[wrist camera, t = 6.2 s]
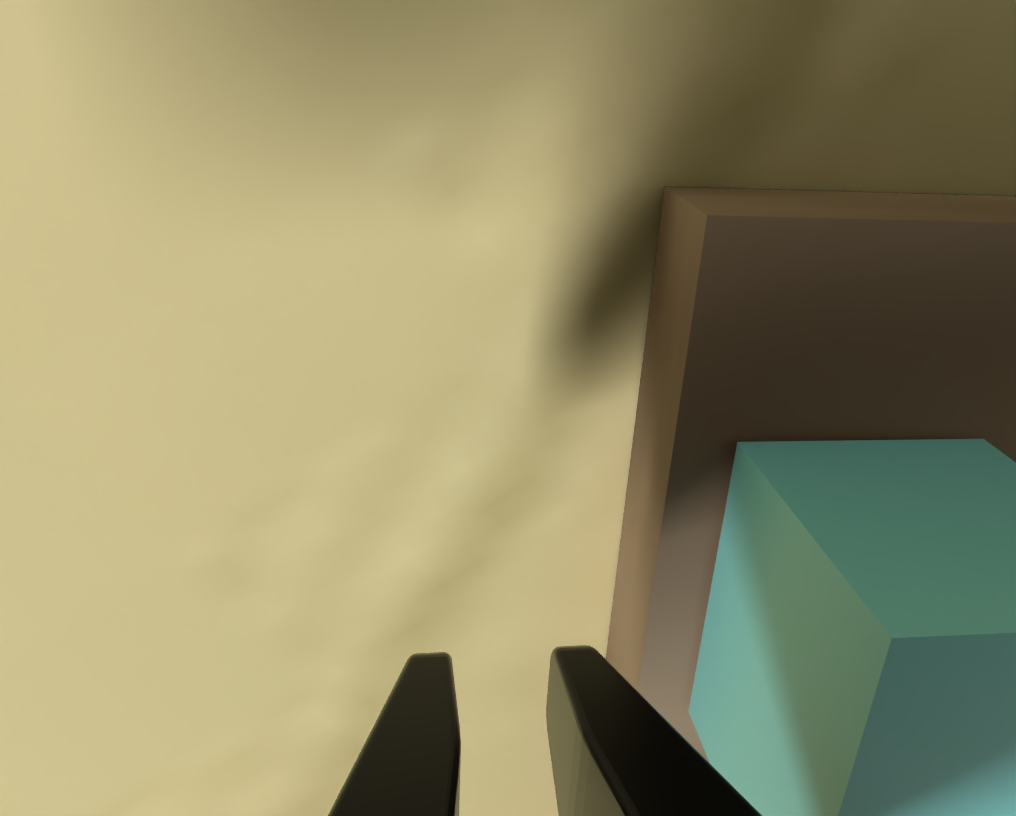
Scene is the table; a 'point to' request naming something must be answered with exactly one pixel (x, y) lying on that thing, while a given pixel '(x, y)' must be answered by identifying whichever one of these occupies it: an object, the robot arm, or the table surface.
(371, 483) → the table surface
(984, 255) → the board
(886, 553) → the block
